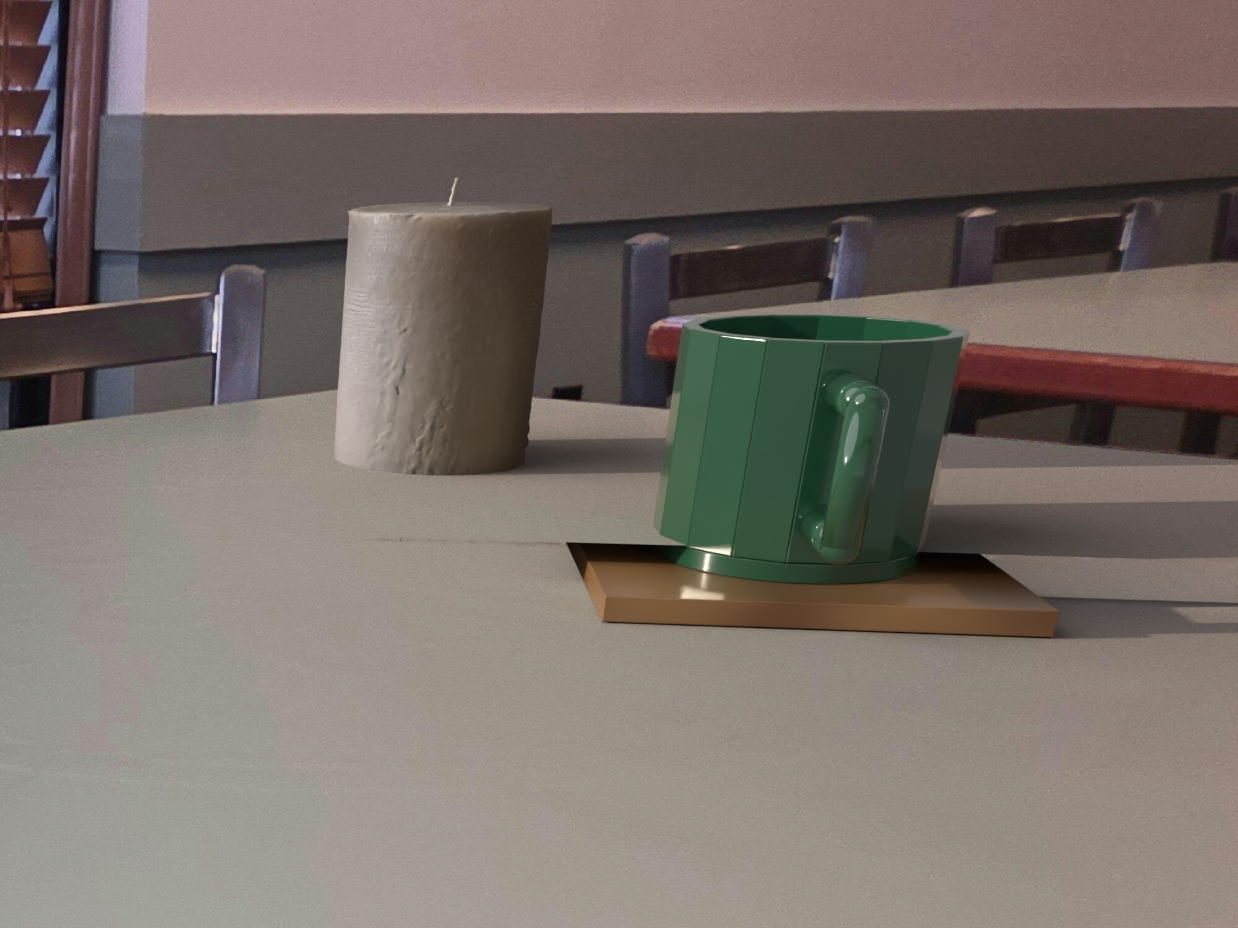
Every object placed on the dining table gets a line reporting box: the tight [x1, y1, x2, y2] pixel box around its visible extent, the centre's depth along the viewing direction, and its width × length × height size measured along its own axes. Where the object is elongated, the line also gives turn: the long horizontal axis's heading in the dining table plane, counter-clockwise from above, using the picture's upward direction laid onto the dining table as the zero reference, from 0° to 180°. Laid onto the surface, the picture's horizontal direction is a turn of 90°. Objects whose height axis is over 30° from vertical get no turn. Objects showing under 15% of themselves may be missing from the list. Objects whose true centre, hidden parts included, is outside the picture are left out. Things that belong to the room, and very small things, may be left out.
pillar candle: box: [333, 177, 553, 476], centre depth 86 cm, size 10×10×15 cm
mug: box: [651, 313, 970, 584], centre depth 68 cm, size 14×10×9 cm
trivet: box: [565, 541, 1060, 638], centre depth 72 cm, size 16×16×1 cm
